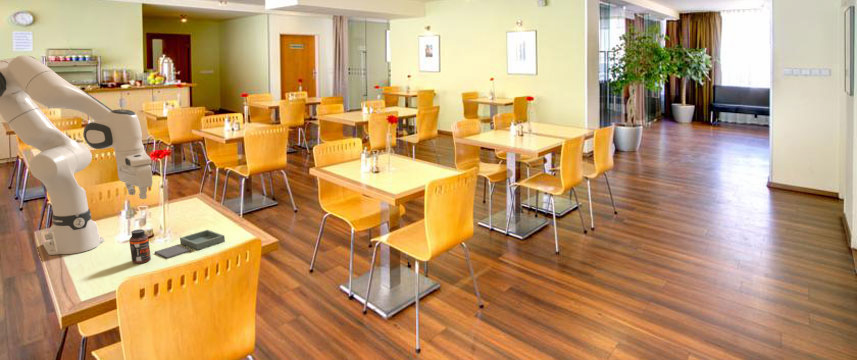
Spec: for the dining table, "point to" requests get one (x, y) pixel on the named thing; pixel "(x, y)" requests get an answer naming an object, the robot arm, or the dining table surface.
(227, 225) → the dining table surface
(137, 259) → the supplement bottle
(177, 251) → the mat
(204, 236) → the tray
